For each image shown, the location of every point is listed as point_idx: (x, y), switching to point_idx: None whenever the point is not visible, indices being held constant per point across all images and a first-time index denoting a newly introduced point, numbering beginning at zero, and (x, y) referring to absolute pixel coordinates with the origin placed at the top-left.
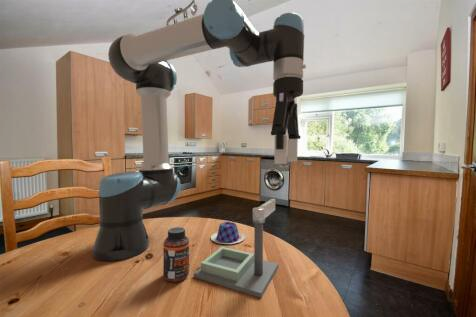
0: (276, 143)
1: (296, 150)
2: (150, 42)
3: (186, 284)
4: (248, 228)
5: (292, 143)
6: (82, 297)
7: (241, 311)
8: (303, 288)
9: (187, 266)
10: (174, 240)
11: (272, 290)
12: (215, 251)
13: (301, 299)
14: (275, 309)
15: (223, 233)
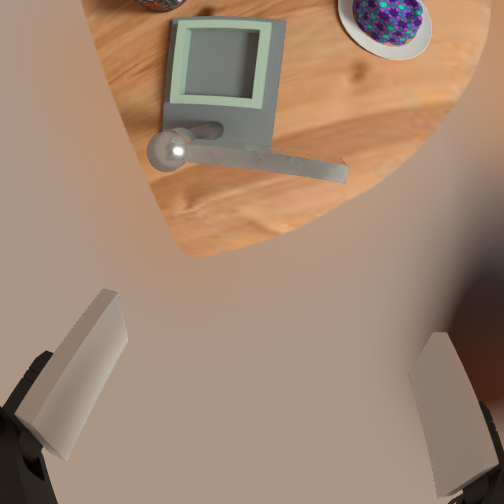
0: (25, 373)
1: (424, 429)
2: None
3: (152, 23)
4: (466, 66)
5: (451, 457)
6: None
7: (128, 132)
8: (215, 210)
9: (161, 7)
10: None
11: None
12: (239, 20)
13: (186, 208)
14: (150, 175)
15: (364, 2)
